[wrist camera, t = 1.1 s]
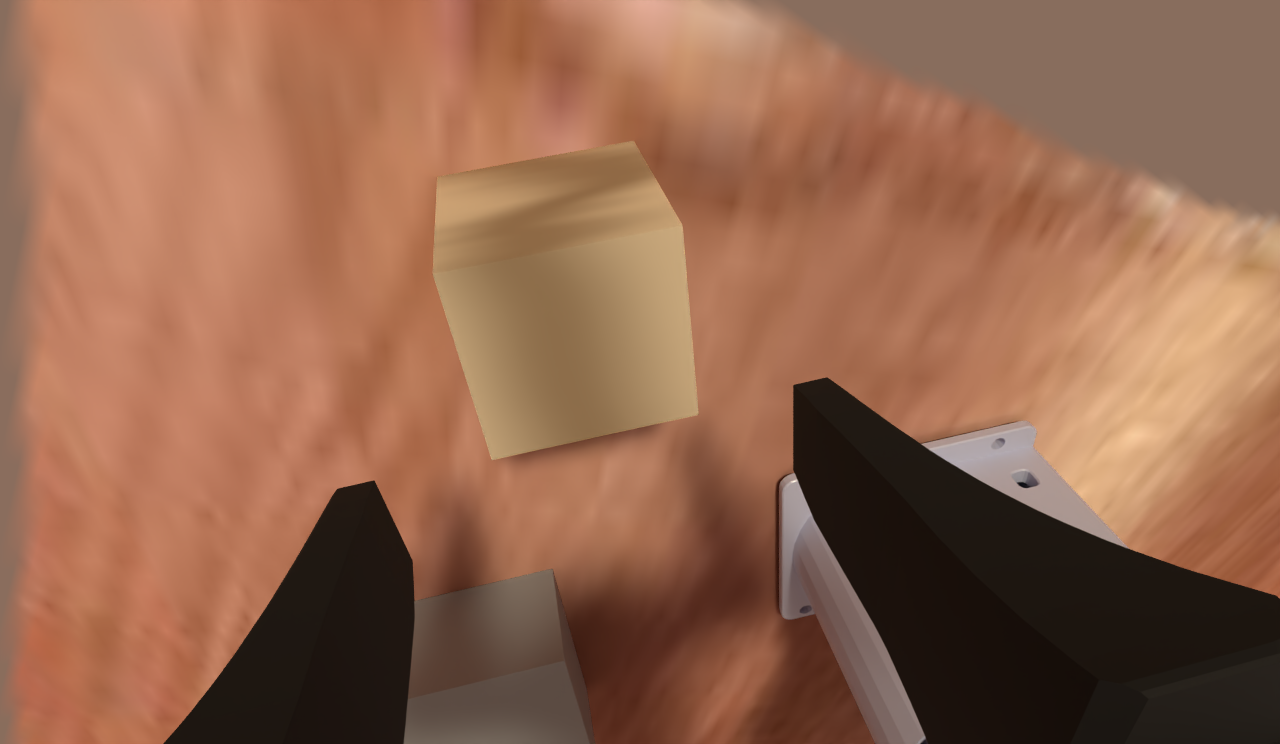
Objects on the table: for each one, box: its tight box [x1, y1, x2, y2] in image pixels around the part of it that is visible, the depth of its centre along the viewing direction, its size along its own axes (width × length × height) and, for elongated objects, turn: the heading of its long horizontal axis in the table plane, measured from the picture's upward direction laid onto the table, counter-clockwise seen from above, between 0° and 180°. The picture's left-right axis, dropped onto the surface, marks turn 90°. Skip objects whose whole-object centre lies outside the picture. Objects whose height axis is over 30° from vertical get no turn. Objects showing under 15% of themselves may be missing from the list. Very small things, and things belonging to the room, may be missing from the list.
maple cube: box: [433, 141, 699, 460], centre depth 18 cm, size 5×5×5 cm
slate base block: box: [404, 569, 595, 744], centre depth 27 cm, size 8×8×4 cm
